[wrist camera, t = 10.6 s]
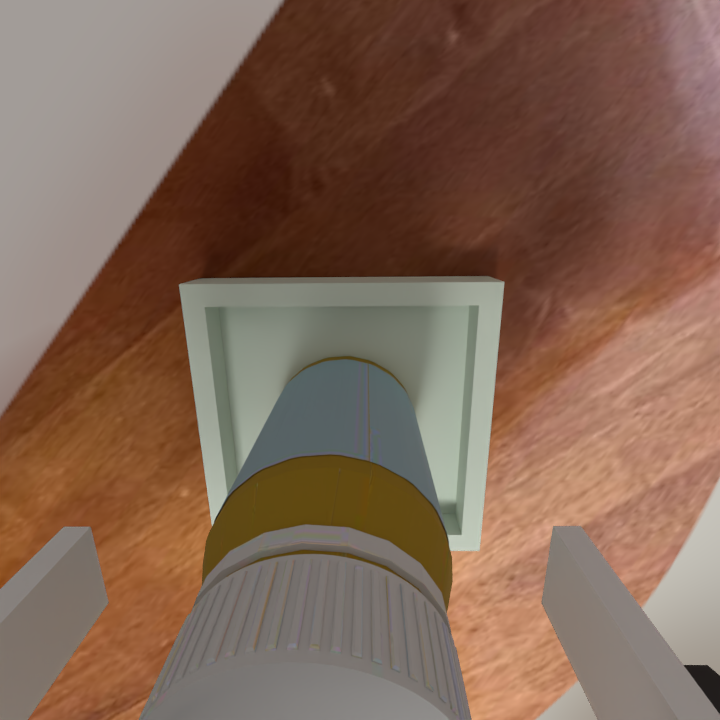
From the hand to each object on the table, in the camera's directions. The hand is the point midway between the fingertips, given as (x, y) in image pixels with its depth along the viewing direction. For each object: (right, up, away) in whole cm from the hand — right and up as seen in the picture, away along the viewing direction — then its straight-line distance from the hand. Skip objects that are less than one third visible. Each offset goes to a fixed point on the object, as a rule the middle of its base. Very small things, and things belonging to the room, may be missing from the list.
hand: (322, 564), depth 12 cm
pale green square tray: (0, +3, +10) cm, 11 cm away
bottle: (0, +3, +10) cm, 10 cm away
